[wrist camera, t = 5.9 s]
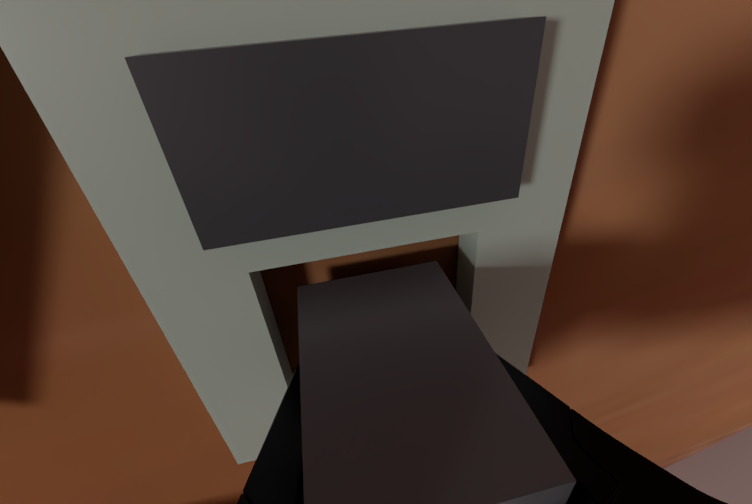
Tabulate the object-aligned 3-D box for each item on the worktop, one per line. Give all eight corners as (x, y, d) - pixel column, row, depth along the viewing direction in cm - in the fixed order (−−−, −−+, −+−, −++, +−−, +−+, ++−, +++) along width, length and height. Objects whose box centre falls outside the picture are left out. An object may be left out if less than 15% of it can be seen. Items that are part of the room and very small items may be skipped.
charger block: (434, 354, 12) (532, 573, 7) (320, 380, 12) (343, 633, 7) (436, 260, 10) (576, 480, 5) (296, 286, 10) (306, 557, 5)
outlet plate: (505, 370, 15) (532, 412, 14) (241, 432, 14) (235, 488, 12) (586, -61, 8) (670, -86, 6) (10, -22, 6) (-93, -39, 4)
